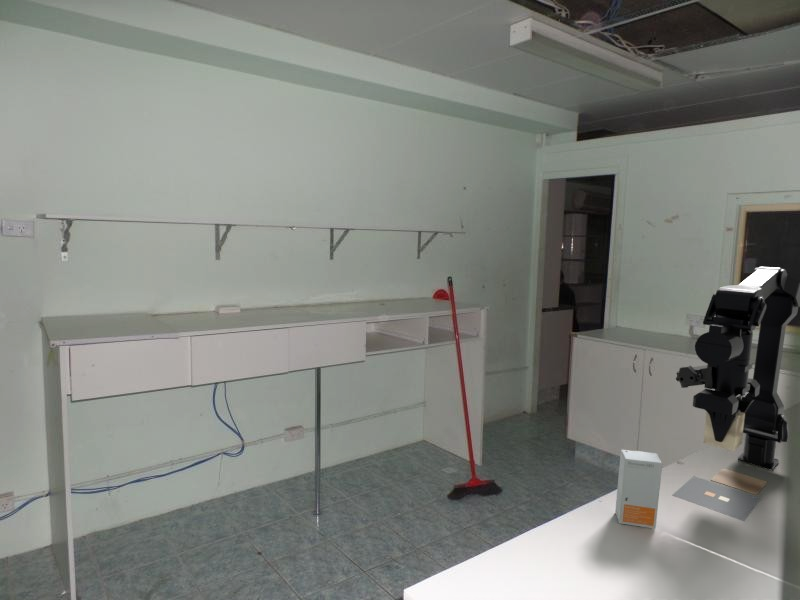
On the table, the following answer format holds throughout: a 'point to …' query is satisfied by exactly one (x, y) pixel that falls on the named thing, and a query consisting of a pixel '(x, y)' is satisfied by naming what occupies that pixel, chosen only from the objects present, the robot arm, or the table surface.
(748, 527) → the table surface
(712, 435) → the birch block
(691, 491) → the tile
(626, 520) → the skincare box
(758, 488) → the pad
